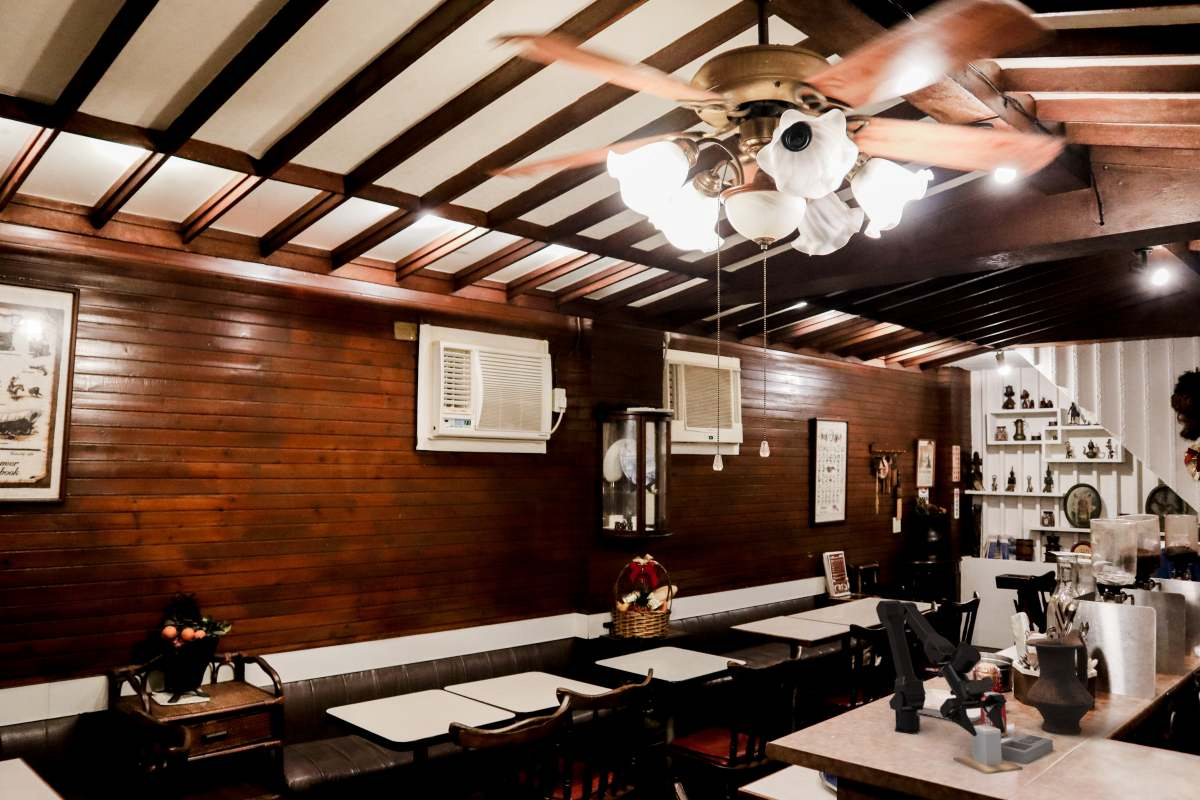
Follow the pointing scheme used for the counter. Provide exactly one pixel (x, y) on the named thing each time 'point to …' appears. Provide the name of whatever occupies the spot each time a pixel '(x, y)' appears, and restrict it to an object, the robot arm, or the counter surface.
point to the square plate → (939, 698)
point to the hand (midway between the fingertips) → (989, 734)
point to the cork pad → (987, 769)
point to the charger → (987, 745)
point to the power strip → (1025, 748)
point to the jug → (1061, 683)
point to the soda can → (987, 721)
